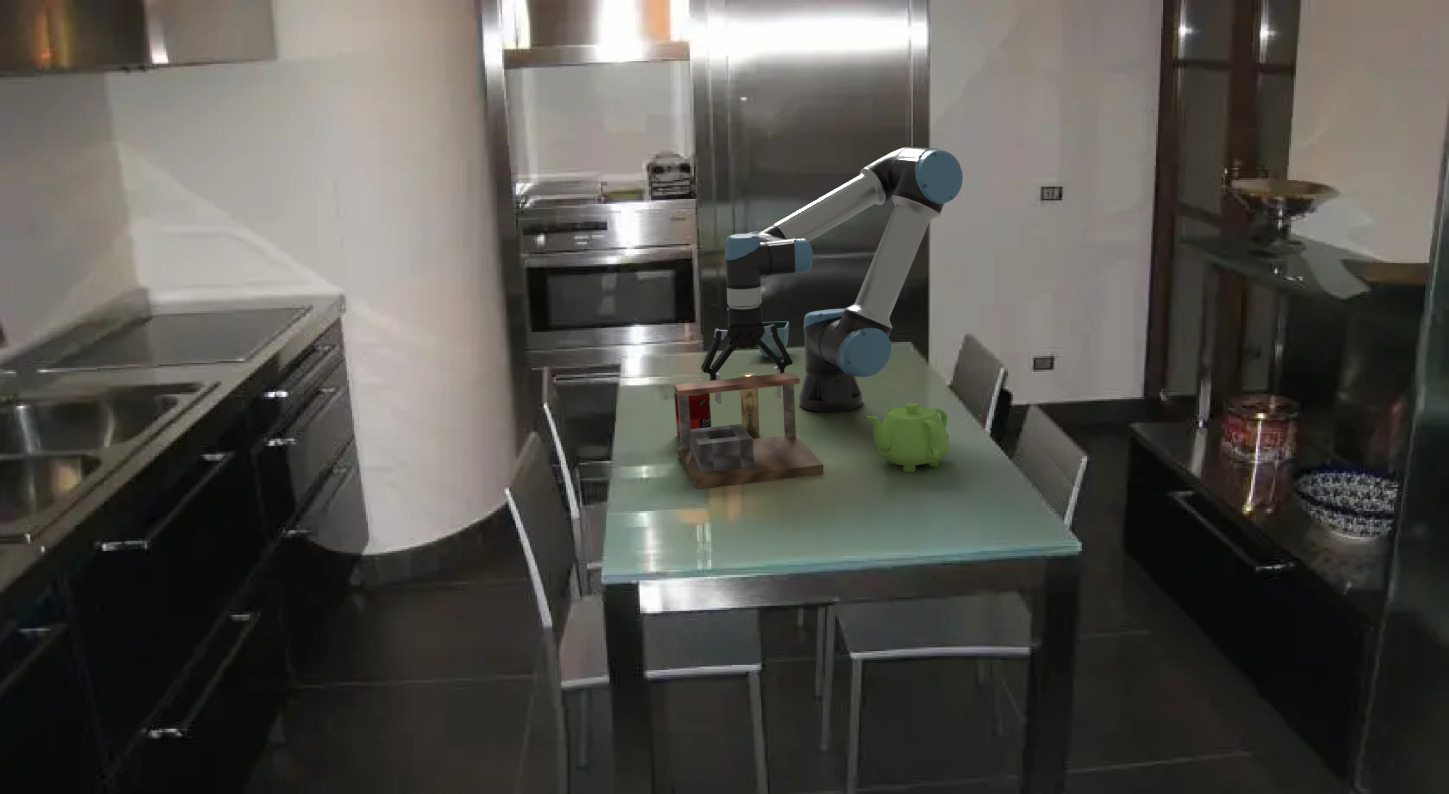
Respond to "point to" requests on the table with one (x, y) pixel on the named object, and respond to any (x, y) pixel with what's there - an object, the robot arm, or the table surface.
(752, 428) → the peg
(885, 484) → the table surface
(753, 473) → the station
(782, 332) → the flower pot
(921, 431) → the teapot
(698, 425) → the canned food
